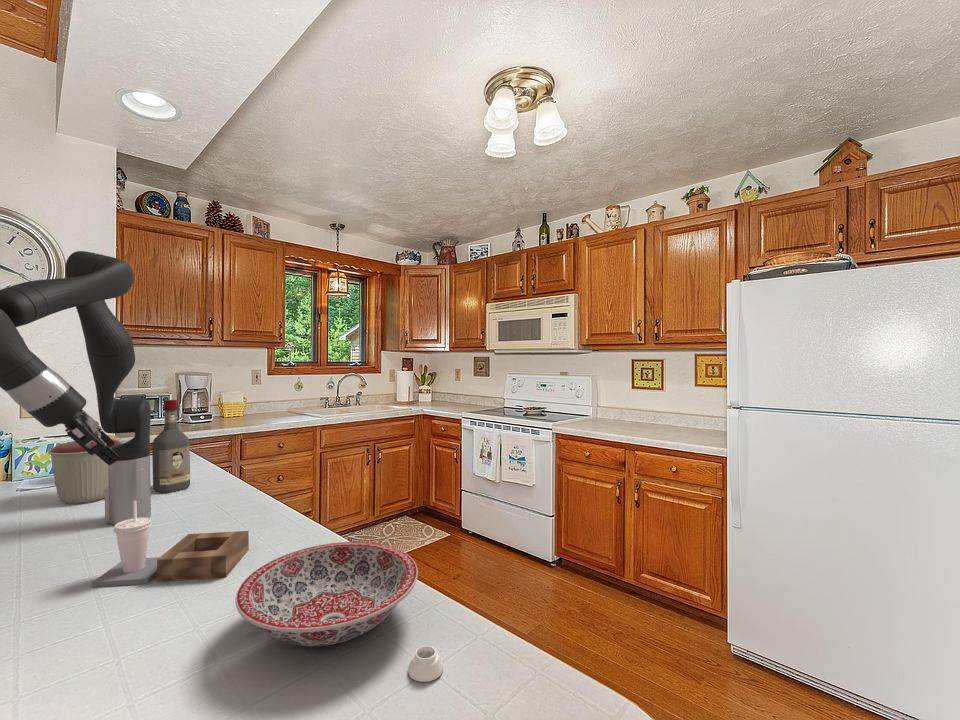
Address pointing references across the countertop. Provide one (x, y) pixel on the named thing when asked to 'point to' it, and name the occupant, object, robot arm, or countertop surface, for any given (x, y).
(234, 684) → the countertop surface
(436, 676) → the lidless jar
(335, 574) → the ceramic bowl
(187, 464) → the liquor
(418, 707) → the countertop surface
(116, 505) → the robot arm
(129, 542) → the smoothie
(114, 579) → the slate coaster
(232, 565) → the frame
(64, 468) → the canister
